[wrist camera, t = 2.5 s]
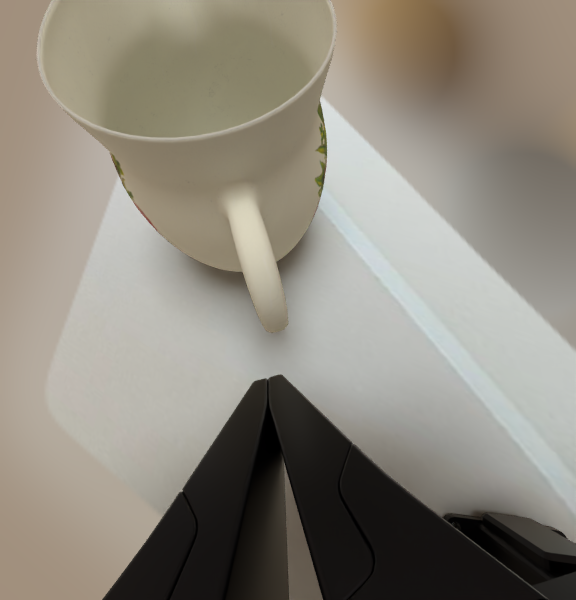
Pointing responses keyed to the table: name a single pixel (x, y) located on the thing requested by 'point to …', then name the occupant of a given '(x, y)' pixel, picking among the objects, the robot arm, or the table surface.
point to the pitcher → (204, 119)
